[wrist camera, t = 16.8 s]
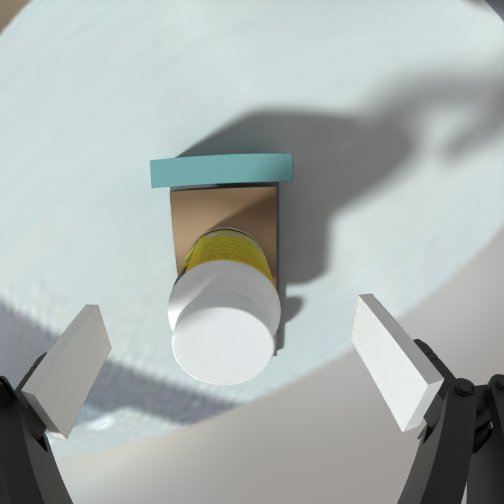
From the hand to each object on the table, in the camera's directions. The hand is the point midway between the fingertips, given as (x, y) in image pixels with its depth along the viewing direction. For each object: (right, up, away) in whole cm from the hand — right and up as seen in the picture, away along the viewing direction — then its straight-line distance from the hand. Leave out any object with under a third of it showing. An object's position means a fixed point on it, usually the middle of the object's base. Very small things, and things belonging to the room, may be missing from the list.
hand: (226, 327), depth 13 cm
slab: (-1, +3, +11) cm, 12 cm away
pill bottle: (-1, +3, +9) cm, 10 cm away
